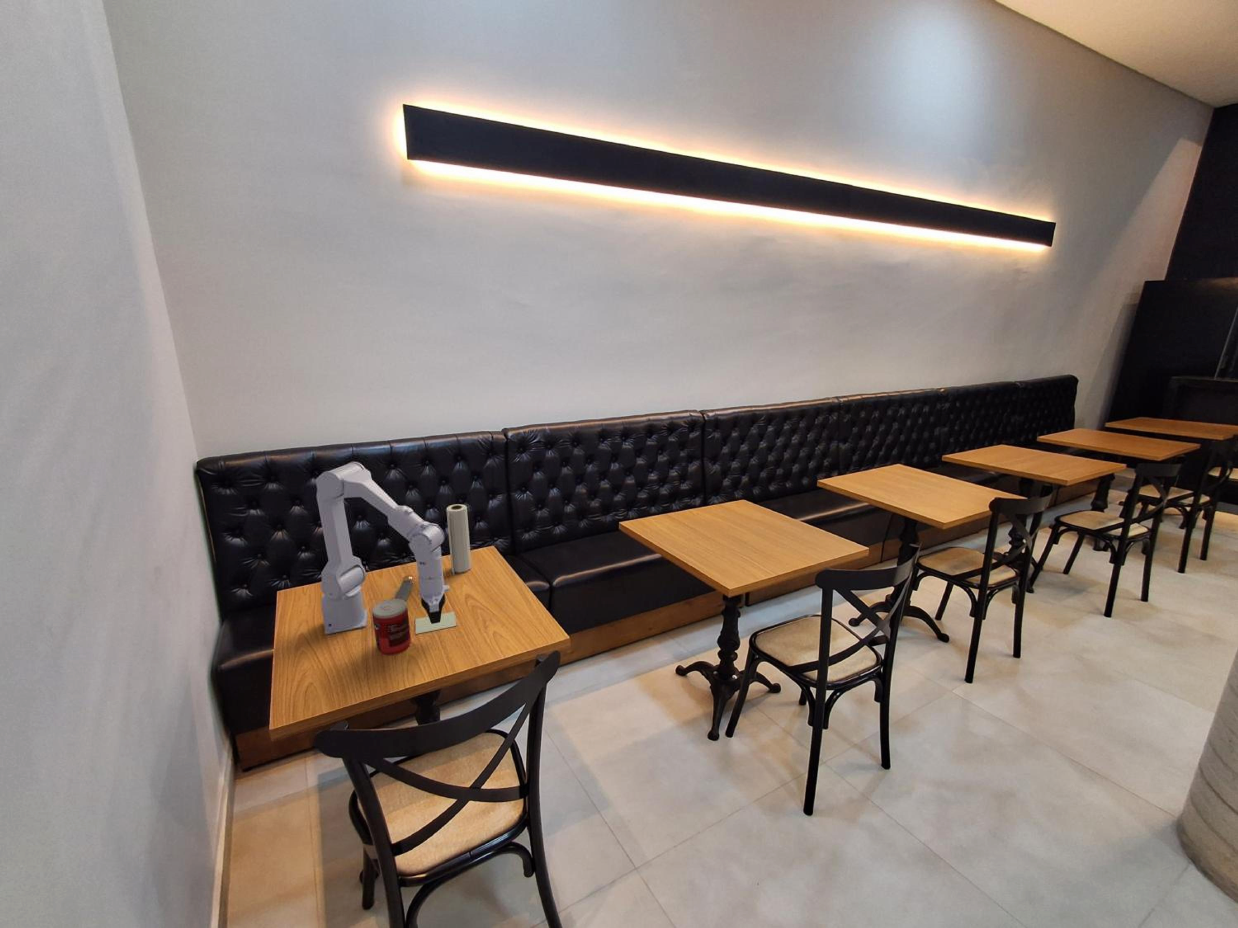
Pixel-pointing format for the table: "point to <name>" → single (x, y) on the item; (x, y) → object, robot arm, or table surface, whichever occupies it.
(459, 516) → the paper towel roll
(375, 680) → the table surface
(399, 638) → the canned food
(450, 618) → the plate
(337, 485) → the robot arm
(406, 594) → the grey copper-tipped rod
